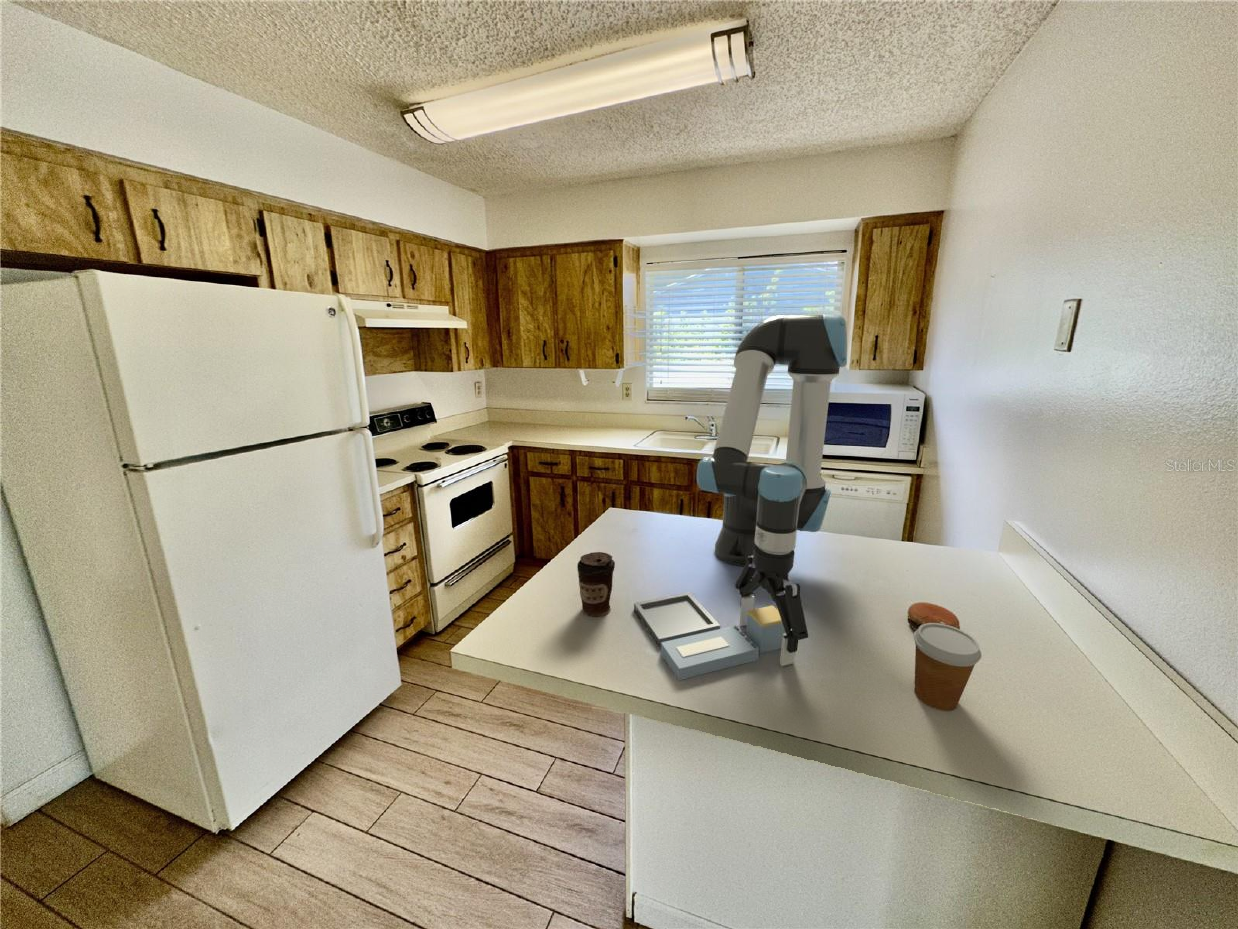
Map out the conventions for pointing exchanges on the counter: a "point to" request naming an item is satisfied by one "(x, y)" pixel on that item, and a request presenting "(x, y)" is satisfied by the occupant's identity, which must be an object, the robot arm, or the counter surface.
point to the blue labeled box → (708, 652)
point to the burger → (930, 615)
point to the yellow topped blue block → (765, 628)
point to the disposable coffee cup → (943, 664)
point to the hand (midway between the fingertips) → (765, 642)
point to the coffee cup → (595, 582)
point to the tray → (674, 617)
